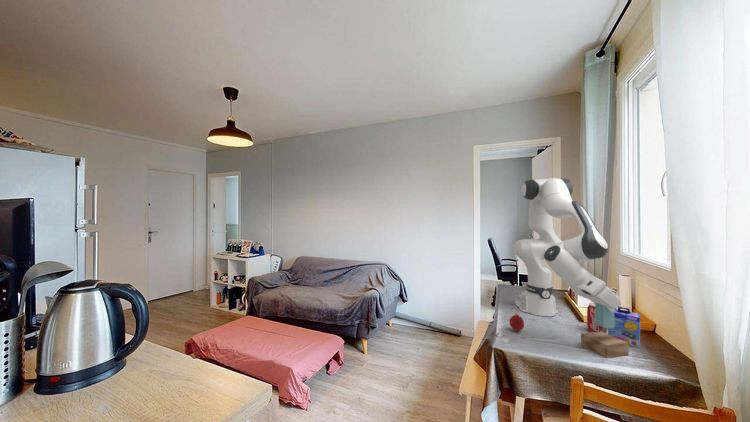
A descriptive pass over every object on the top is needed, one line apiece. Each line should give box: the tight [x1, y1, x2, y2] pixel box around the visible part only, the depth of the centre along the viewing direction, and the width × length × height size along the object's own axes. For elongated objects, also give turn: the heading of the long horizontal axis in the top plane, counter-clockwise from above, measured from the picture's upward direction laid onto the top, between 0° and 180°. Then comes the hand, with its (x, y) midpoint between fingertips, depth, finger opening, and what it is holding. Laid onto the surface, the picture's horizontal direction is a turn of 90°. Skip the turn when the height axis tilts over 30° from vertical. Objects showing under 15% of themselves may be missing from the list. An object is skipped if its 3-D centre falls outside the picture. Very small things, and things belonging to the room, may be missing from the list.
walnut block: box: [580, 331, 630, 359], centre depth 106 cm, size 10×10×5 cm
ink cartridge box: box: [607, 306, 641, 348], centre depth 113 cm, size 10×6×14 cm, turn 45°
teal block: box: [595, 302, 614, 329], centre depth 105 cm, size 4×4×10 cm
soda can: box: [586, 302, 608, 334], centre depth 122 cm, size 7×7×12 cm
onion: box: [509, 312, 525, 332], centre depth 122 cm, size 6×6×8 cm
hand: (606, 307), depth 105 cm, fingers closed on teal block, 4 cm apart
